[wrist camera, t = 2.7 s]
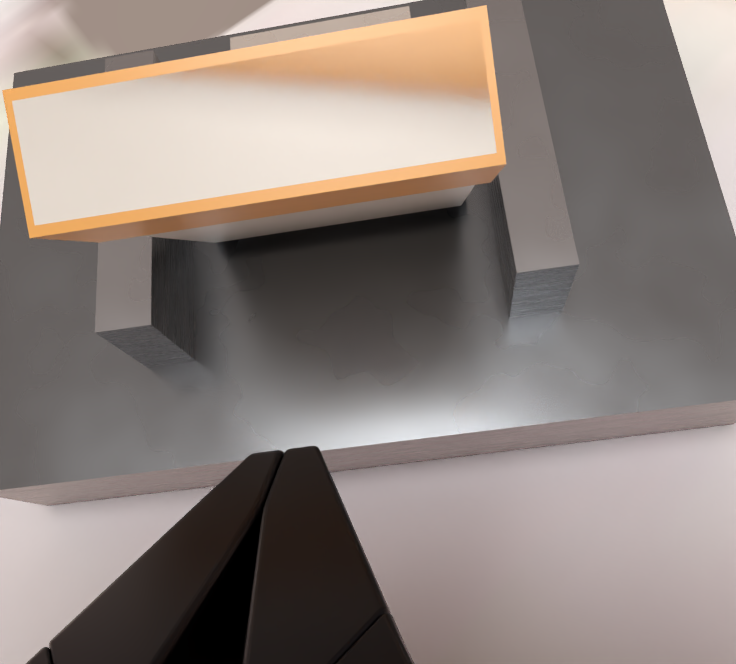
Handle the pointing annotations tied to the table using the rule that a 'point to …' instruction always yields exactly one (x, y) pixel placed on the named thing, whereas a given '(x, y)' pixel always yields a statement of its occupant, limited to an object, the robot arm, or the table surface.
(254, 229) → the lever
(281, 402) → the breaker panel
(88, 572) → the table surface
